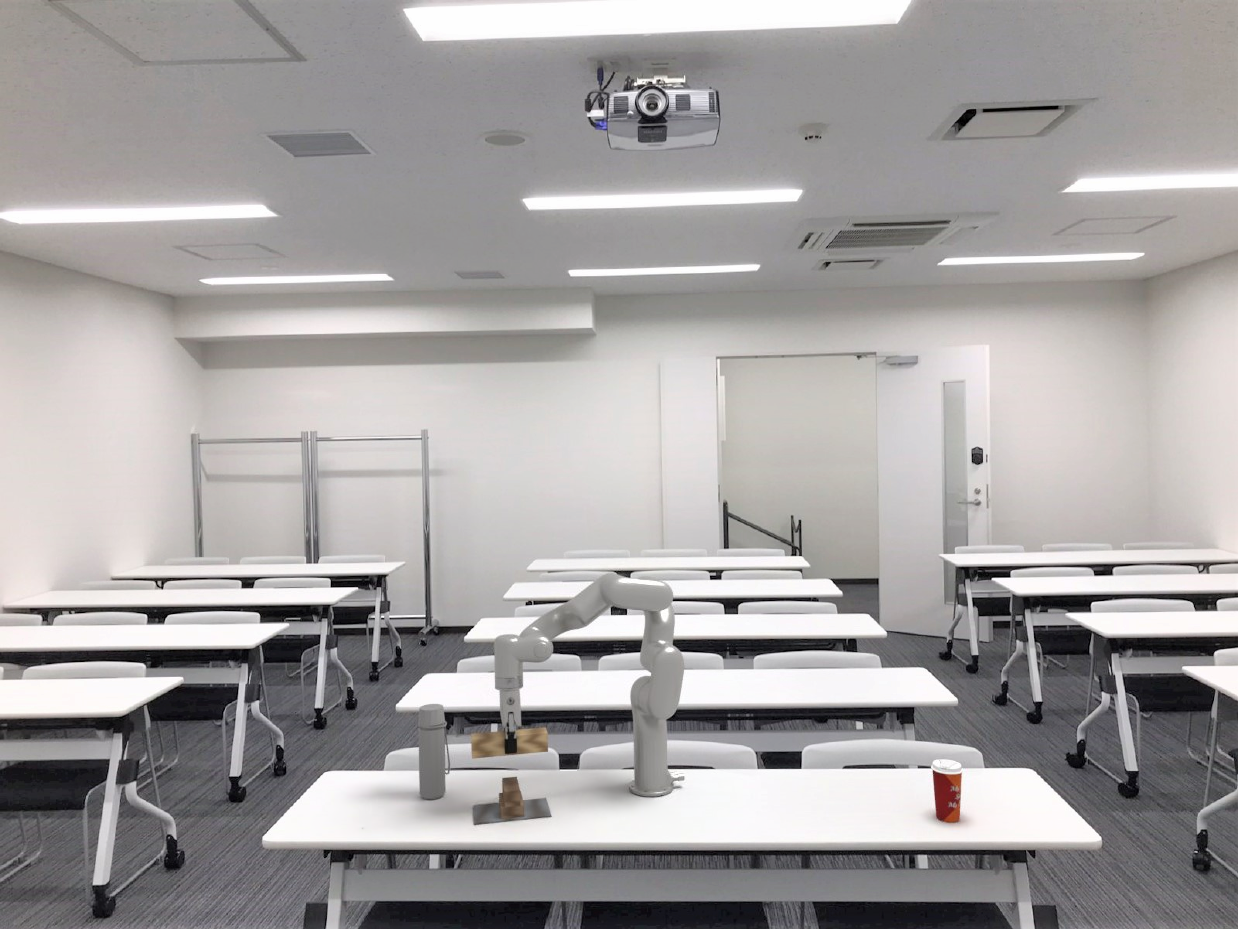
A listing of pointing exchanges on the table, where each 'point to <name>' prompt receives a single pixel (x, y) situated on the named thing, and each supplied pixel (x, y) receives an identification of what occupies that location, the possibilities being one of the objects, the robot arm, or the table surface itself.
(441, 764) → the water bottle
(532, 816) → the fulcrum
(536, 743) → the oak bar
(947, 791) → the paper cup
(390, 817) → the table surface
